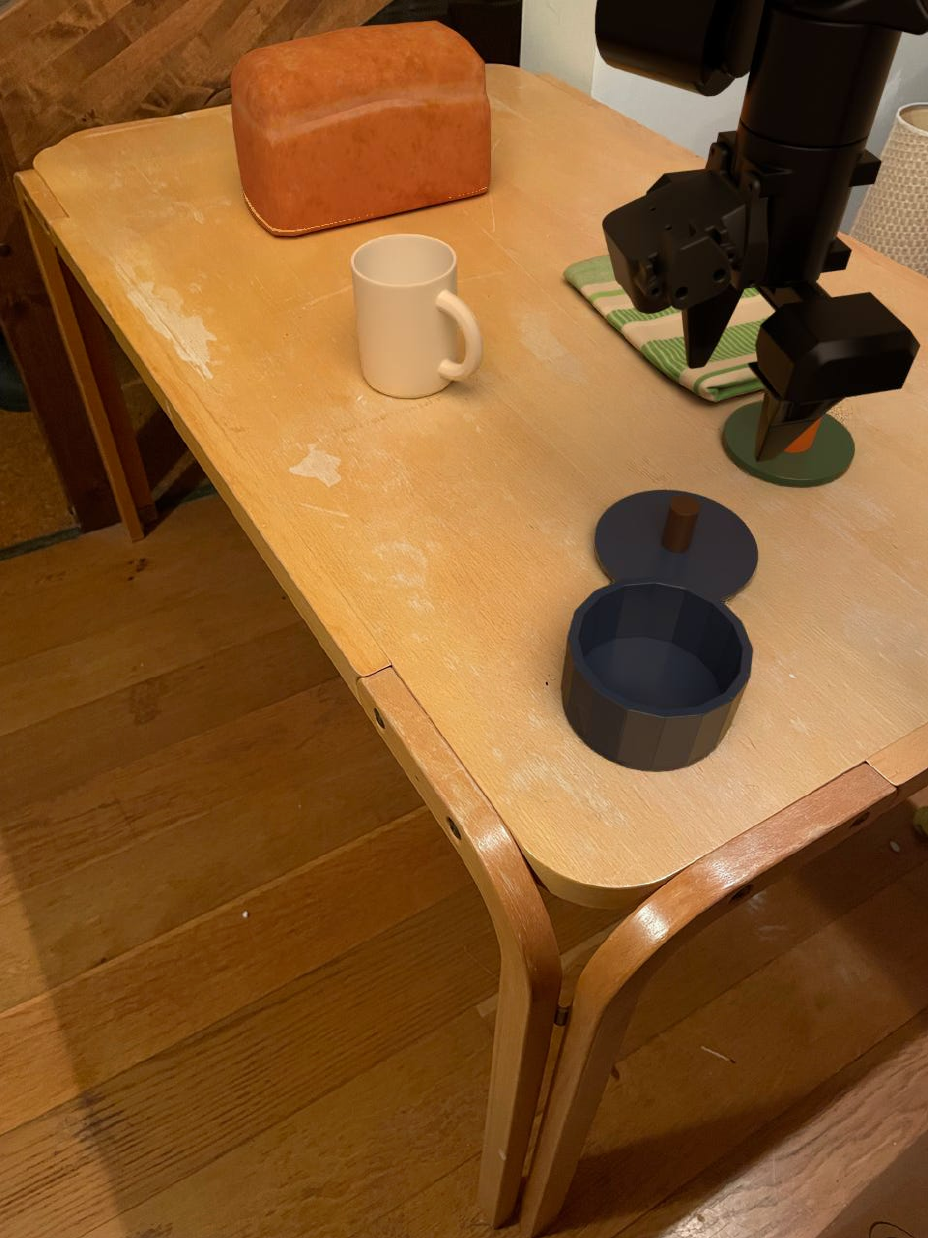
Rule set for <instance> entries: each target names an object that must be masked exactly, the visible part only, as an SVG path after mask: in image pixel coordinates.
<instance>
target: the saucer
mask: <svg viewBox="0 0 928 1238" xmlns="http://www.w3.org/2000/svg"><path fill="white" fill-rule="evenodd" d="M762 403H763V400H759V401H754V402H751V403H747V404H744V405H742V406H740V407H738V408H737V409H735V410H734V411H733V412H732V413H731V414H730V415H729V416H728V417H727V419H726V421H725V422H724V425H723V429H722V433H721V442H722V448H723V449H724V451H725V453H726V455H727V456H728V458H729V460H730V461H732V462H733V464H735V465H736V466H737V467H738V468H739V469H741V470H742V471H744V472H745V473H746V474H748V475H750V476H752V477H754V478H756V479H759V480H761V481H764V482H766V483H769V484H773V485H777V486H782V487H789V488H813V487H814V488H815V487H820V486H824V485H827V484H830V483H833V482H835V481H837V480H839V479H840V478H841V477H843V476H844V475H845V474H846V473H847V471H848V470H849V469H850V467H851V465H852V463H853V460H854V457H855V453H856V446H855V445H856V443H855V441H854V438H853V436H852V434H851V432H850V431H849V430H848V428H847V427H845V425H844V424H842V422H841V421H839V420H838V419H837V418H835V417H834V416H832V415H831V414H829V413H828V412H826V413H825V414H824V415H823V416H822V418H821V421H820V424H819V427H818V429H817V432H816V435H815V438H814V440H813V443H812V445H811V447H810V448H809V449H808V450H806V451H803V452H800V453H788V452H784V451H783V452H782V453H781V454H780V455H779V456H777V457H776V458H775V459H774V460H771V461H766V462H760V463H759V462H757V461H756V460H755V458H754V450H755V440H756V434H757V429H758V424H759V419H760V413H761V408H762Z"/></svg>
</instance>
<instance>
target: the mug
mask: <svg viewBox="0 0 928 1238" xmlns="http://www.w3.org/2000/svg"><path fill="white" fill-rule="evenodd" d="M349 263H350V273H351V284H352V292H353V302H354V311H355V320H356V321H355V323H356V331H357V342H358V351H359V359H360V367H361V372H362V375H363V377H364V379H365V381H366V382H367V383H368V385H369V386H370V387H372V388H373V389H374V390H376V391H377V392H379V393H381V394H382V395H385V396H388V397H393V398H397V399H398V398H399V399H419V398H423V397H428V396H430V395H434V394H436V393H438V392H440V391H442V390H444V388H446V387H447V386H448V385H449V384H450V383H451V382H452V381H456V382H461V381H463V382H464V381H465V380H468V379H471V378H472V377H473V376H475V374H476V373H477V372H478V370H479V369H480V366H481V364H482V360H483V355H484V341H483V336H482V330H481V328H480V325H479V322H478V320H477V318H476V316H475V315H474V313H473V311H472V310H471V309H470V307H469V306H468V305H467V303H465V302H464V301H463V300H462V299H461V298H460V297H458V256H457V253H456V252H455V250H454V249H453V248H452V247H451V245H449V244H448V243H447V242H445V241H443V240H441V239H438V238H436V237H433V236H428V235H424V234H419V233H418V234H417V233H393V234H388V235H382V236H379V237H375V238H373V239H370V240H368V241H366V242H364V243H363V244H361V245H360V246H358V247H357V248H356V249H355V250H354V251H353V253H352V254H351V257H350V262H349ZM458 326H459V328H460V330H461V333H462V335H463V339H464V342H465V350H466V351H465V357H464V359H463V362H461V363H458V360H459V358H458V355H459V354H458V353H459V352H458V351H459V350H458V349H459V348H458V347H459V346H458V345H459V343H458V337H459V336H458V333H459V332H458Z"/></svg>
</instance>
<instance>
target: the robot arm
mask: <svg viewBox="0 0 928 1238" xmlns="http://www.w3.org/2000/svg"><path fill="white" fill-rule="evenodd" d="M595 3H596V4H595V11H594V37H595V43H596V48H597V51H598V54H599V55H600V58H601V59H602V60H603V62H604V63H605V65H607V66H609V67H611V68H614V69H616V70H618V71H619V70H620V71H622V72H625V73H629V74H632V75H635V76H639V77H642V78H645V79H649V80H651V81H655V82H658V83H661V84H664V85H668V86H670V87H673V88H678V89H681V90H683V91H686V92H690V93H692V94H693V93H694V94H697V95H700V96H703V97H707V98H708V97H716V96H718V95H720V94H722V93H723V92H724V91H726V90H727V89H728V88H729V87H730V86H731V85H732V84H733V82H734V81H735V80H736V79H740V78H743V77H745V76H747V75H748V76H747V83H746V87H745V88H746V89H745V92H744V96H743V101H742V106H741V111H740V115H739V119H738V123H737V128H736V130H727V131H718V133H717V137H716V141H714V142H711V144H710V146H709V150H708V154H707V161H706V164H705V166H704V168H700V169H690V170H682V171H681V170H679V171H673V172H672V171H671V172H664V173H663V174H662V175H661V176H660V177H659V178H658V179H657V180H656V181H655V182H654V183H653V184H652V185H651V186H650V187H649V188H648V189H647V190H646V192H645V194H644V195H642V196H640V197H638V198H636V199H633V200H632V201H629V202H628V203H626V204H624V205H622V206H619V207H617V208H615V209H613V210H612V211H610V212H609V213H607V214H606V215H605V217H604V218H603V220H601V221H602V223H601V227H602V232H603V235H604V239H605V243H606V248H607V251H608V255H609V256H610V260H611V264H612V268H613V272H614V276H615V280H616V281H617V283H618V284H619V285H621V286H622V288H623V289H624V291H625V292H626V293H627V295H628V296H629V298H630V299H631V301H632V304H633V306H634V307H635V308H636V310H637V311H639V312H641V313H644V314H654V313H658V312H661V311H663V310H666V309H668V308H670V307H671V306H672V307H673V308H675V309H678V310H681V311H682V312H681V314H682V323H683V333H684V343H685V352H686V362H687V365H688V367H689V368H690V369H696V368H702V367H704V366H706V364H707V362H708V361H709V359H710V357H711V356H712V354H713V352H714V350H715V349H716V347H717V345H718V343H719V341H720V339H721V337H722V335H723V333H724V331H725V329H726V327H727V325H728V323H729V321H730V319H731V317H732V315H733V313H734V310H735V308H736V306H737V304H738V302H739V300H740V298H741V296H742V294H743V292H744V290H745V289H748V288H755V289H756V290H757V291H758V292H759V293H760V295H761V296H762V297H763V298H764V299H765V300H766V301H767V302H768V304H769V305H770V306H771V307H772V308H773V309H774V310H775V312H774V313H773V314H772V315H771V316H770V317H769V318H767V319H766V320H765V321H764V322H763V323H762V324H761V325H760V328H759V332H758V336H757V339H756V343H755V348H756V355H757V362H751V363H748V367H749V368H750V369H751V371H752V372H753V373H754V374H755V376H756V377H757V378H758V379H759V381H760V382H761V383H762V385H763V386H764V387H765V389H764V394H763V397H762V401H763V403H762V408H761V413H760V419H759V424H758V429H757V434H756V440H755V450H754V458H755V460H756V461H757V462H759V463H760V462H766V461H771V460H774V459H775V458H776V457H777V456H779V455H780V454H781V453H782V452H783V451H784V450H785V449H786V448H787V447H788V446H790V445H791V444H792V443H793V442H794V441H795V440H796V439H797V438H798V437H800V436H801V435H802V434H803V433H804V432H805V431H806V430H807V429H808V428H809V427H811V426H812V425H813V424H814V423H815V422H816V421H817V420H818V419H819V418H821V417H822V416H823V415H824V414H825V413H828V412H829V411H830V410H831V409H833V408H834V407H835V406H837V405H838V404H839V403H841V402H842V401H844V399H846V398H853V397H859V396H860V397H861V396H865V395H871V394H877V393H883V392H891V391H896V390H902V389H903V387H904V385H905V383H906V380H907V378H908V376H909V374H910V371H911V369H912V366H913V364H914V362H915V360H916V358H917V355H918V352H919V350H920V348H921V344H920V342H919V340H918V338H917V337H916V336H915V335H914V333H913V332H912V330H911V329H910V328H909V327H908V326H907V325H906V324H905V323H904V322H902V321H901V320H900V319H899V318H898V316H896V315H895V314H894V313H893V311H891V310H890V309H889V308H888V307H887V306H886V305H885V304H884V303H882V301H881V300H880V299H878V298H877V297H876V296H875V295H874V294H873V293H872V292H871V291H867V292H859V293H858V292H857V293H851V294H845V295H838V296H831V295H830V293H828V291H826V290H825V289H824V287H823V286H822V285H820V284H819V282H817V281H818V280H819V279H820V276H821V274H826V273H831V272H841V271H846V270H847V266H848V263H849V260H850V259H851V254H852V251H853V249H852V248H851V247H850V246H848V245H847V244H846V243H845V242H844V241H843V240H842V239H841V238H840V237H839V236H838V234H839V231H840V227H841V225H842V222H843V219H844V215H845V212H846V210H847V206H848V204H849V203H848V202H849V200H850V197H851V193H852V191H853V188H854V187H861V186H862V187H863V186H870V185H875V184H876V181H877V178H878V175H879V172H880V170H881V165H882V163H883V160H881V159H880V158H879V157H878V156H876V155H875V154H873V153H872V152H870V151H869V150H868V149H867V148H866V147H867V143H868V140H869V138H870V134H871V131H872V128H873V125H874V122H875V119H876V116H877V112H878V109H879V106H880V103H881V100H882V97H883V93H884V91H885V87H886V84H887V81H888V78H889V75H890V71H891V69H892V66H893V63H894V59H895V56H896V53H897V50H898V47H899V43H900V42H901V41H900V40H901V38H902V35H903V33H906V34H910V35H913V36H923V35H926V34H927V33H928V0H596V2H595Z"/></svg>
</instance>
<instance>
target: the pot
mask: <svg viewBox="0 0 928 1238" xmlns="http://www.w3.org/2000/svg"><path fill="white" fill-rule="evenodd" d="M753 655H754V646H753V644H752V641H751V640H750V637H749V635H748V632H747V631H746V628H745V626H744V623H743V621H742V620H741V619H740V618H739V617H738V615H736V614H735V612H733V611H732V609H730V608H729V607H728V606H727V605H726V604H725V603H724V601H723V602H722V601H721V600H720V599H719V598H718V597H716V596H714V595H712V594H710V593H708V592H706V591H704V590H702V589H700V588H698V587H696V586H694V585H692V584H690V583H687V582H682V581H677V580H672V579H667V578H662V577H657V576H648V577H636V578H624V579H620V580H618V581H616V582H614V581H612V582H611V583H609V584H607V585H604V586H602V587H599V588H597V589H596V590H593V591H592V592H591V593H590V594H589V595H588V597H586V598H585V599H584V600H583V602H581V604H579V606H577V608H576V609H575V610H574V612H573V615H572V618H571V623H570V626H569V629H568V633H567V638H566V644H565V652H564V660H563V667H562V674H561V681H560V682H561V683H560V693H561V704H562V708H563V711H564V715H565V718H566V720H567V722H568V723H569V725H570V727H571V729H572V730H573V732H574V733H575V735H577V737H578V738H579V739H580V740H581V741H582V743H584V744H585V745H586V746H587V747H588V748H589V749H590V750H592V751H593V752H595V753H596V754H598V755H599V756H601V757H603V758H604V759H606V760H608V761H610V762H612V763H614V764H616V765H618V766H622V767H625V768H629V769H633V770H637V771H643V772H654V773H656V772H670V771H675V770H680V769H684V768H688V767H690V766H692V765H694V764H696V763H699V762H701V761H702V760H704V759H705V758H707V757H708V756H710V755H711V754H712V753H713V752H714V751H715V750H716V749H717V748H718V747H719V745H720V744H721V743H722V742H723V740H724V738H725V736H726V734H727V732H728V731H729V730H730V728H731V726H732V724H733V721H734V718H735V716H736V714H737V711H738V709H739V707H740V703H741V702H742V699H743V696H744V693H745V692H746V689H747V686H748V684H749V681H750V678H751V676H752V667H753V657H754V656H753Z"/></svg>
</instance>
